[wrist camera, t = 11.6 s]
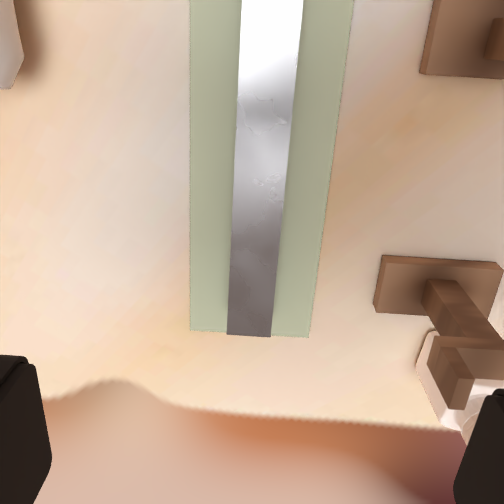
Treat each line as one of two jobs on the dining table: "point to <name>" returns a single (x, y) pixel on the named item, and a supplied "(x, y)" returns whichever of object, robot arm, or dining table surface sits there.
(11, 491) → the robot arm
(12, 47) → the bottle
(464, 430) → the salt shaker
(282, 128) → the rail
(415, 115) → the dining table surface
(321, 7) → the board
